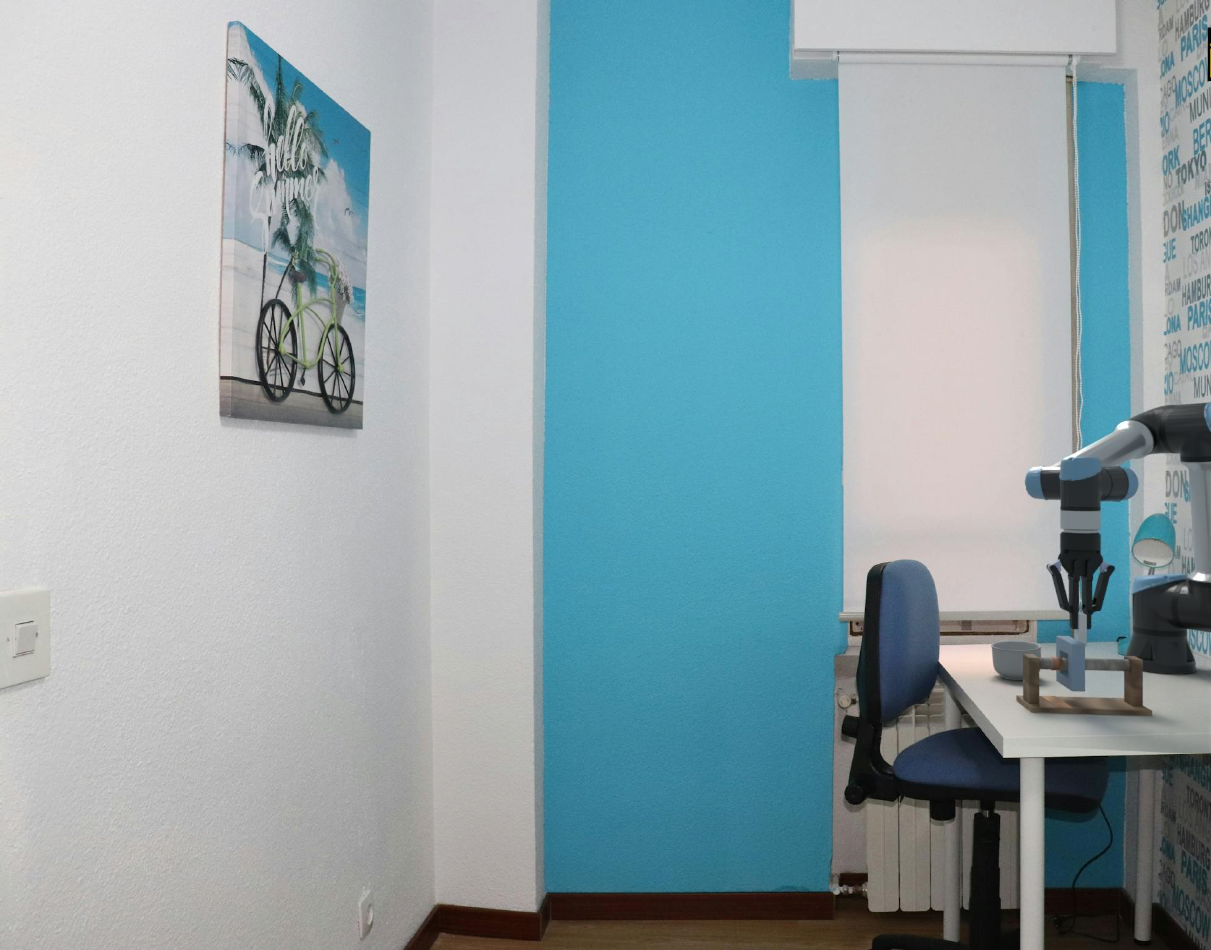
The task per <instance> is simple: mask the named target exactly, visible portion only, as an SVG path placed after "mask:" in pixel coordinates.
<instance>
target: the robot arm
mask: <svg viewBox="0 0 1211 950" xmlns="http://www.w3.org/2000/svg"><path fill="white" fill-rule="evenodd" d="M1113 430H1114V431H1113V432H1111V433H1109V434H1107V435H1105V436H1104V437H1102V438H1100V439H1098V440H1096V441H1094V442H1093V443H1090V444H1089V445H1087V446H1085V447H1083V448H1081V449H1080V450H1078V451H1076V452H1074V453H1072V454H1070V455H1069V456H1066V457H1063V458H1062V459H1061V460H1059V461H1058V462H1056V463H1053V464H1051V465H1040V466H1032V467H1031V468H1029V470H1028V471H1027V473H1026V474H1025V478H1024V486H1025V490H1026V493H1027V494H1028V496H1029V497H1031V498H1032V499H1037V500H1044V501H1049V500H1050V501H1060V507H1059V509H1060V510H1059V511H1060V512H1059V513H1060V515H1059V516H1060V517H1059V523H1060V524H1059V525H1060V529H1061V530H1063V531H1061V533H1059V539H1060V540H1059V549H1060V551H1059V554H1058V555H1057V556H1058V557H1057V560H1056V561H1054V562H1052V563H1048V564H1046V567H1045V568H1046V570H1047V571H1048V572H1049V573H1050V575H1051V577H1052V582H1053V586H1054V589H1055V593H1056V598H1057V601H1058V605H1059V608H1060V609H1061V610H1063V611H1065V612H1068V613H1069V628H1070V629H1072V630H1074V631H1073V635H1074V637H1073V639H1075V640H1077V641H1079V642H1081V643H1083V644H1085V647H1087V646H1088V633H1087V631H1088V630H1091V629H1092V615H1094V614H1095V613H1096V612H1100V611H1102V608H1103V605H1104V601H1105V597H1106V592H1107V589H1108V585H1109V582H1110V577H1111V576H1112V574H1113V573H1114V572H1115V571H1116V567H1115V565H1113V564H1109V563H1107V562H1106V561H1104V557H1103V555H1102V552H1101V550H1102V547H1101V546H1102V534H1101V533H1100V532H1098V531H1101V529H1102V520H1101V518H1102V516H1101V515H1102V514H1101V513H1102V511H1101V509H1102V508H1101V506H1102V505H1101V504H1102V502H1114V503H1115V502H1117V503H1120V502H1122V501H1123V502H1124V501H1128V500H1129V499H1131V498H1133V497H1134V496H1135V495H1136V493H1137V491H1138V489H1139V478H1138V475H1137V474H1136V473H1135V471H1134V470H1133V469H1132V468H1129V467H1127V466H1122V465H1124V464H1126V463H1127V462H1128V463H1129V461H1131V460H1138V459H1143V458H1146V457H1147V456H1149V455H1157V454H1158V455H1160V454H1179V457H1180V458H1179V459H1180V463H1181V464H1182V465H1183V466H1185V467H1186V468H1187V469H1188V481H1189V483H1188V484H1189V495H1190V496H1189V498H1190V513H1191V528H1192V529H1191V530H1192V543H1193V558H1194V559H1193V561H1194V570H1193V571H1192V572H1190V574H1188V575H1187V574H1186V573H1161V574H1148V575H1147V574H1146V575H1139V576H1136V577H1135V578H1134V580H1133V581H1132V590H1131V591H1132V592H1131V596H1132V597H1131V598H1132V599H1131V600H1132V602H1131V603H1132V605H1131V606H1132V607H1131V608H1132V635H1131V638H1130V641H1129V644H1128V646H1127V648H1126V651H1125V654H1124V656H1135V657H1137V658H1139V659H1141V660H1143V672H1150V673H1160V674H1177V675H1179V674H1191V673H1195V672H1196V670H1197V668H1196V666H1197V665H1196V663H1197V662H1196V660H1195V656H1194V654H1193V651H1192V647H1191V645H1190V643H1189V639H1188V630H1191V631H1199V632H1205V633H1211V401H1209V402H1198V403H1185V404H1184V403H1183V404H1182V403H1181V404H1167V405H1166V404H1165V405H1161V406H1158V407H1154V408H1151V409H1148V410H1145V411H1143V412H1141V413H1139V414H1137V415H1134V416H1132V417H1130V418H1128V419H1126V420H1124V421H1122V422H1120V423H1119V424H1117V426H1116V427H1115V429H1113ZM1062 568H1063V569H1064V570H1065V572H1066V573H1067V579H1068V594H1067V591H1066V587H1065V583H1064V579H1063V575H1062V573H1061V571H1062ZM1097 570H1099V571H1100V572H1099V574H1098V577H1097V581H1096V584H1095V588H1094V593H1093V581H1094V574H1095V573H1096V572H1097ZM1080 580H1081V611H1082V612H1080Z"/></svg>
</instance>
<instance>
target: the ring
mask: <svg viewBox="0 0 1211 950" xmlns="http://www.w3.org/2000/svg"><path fill="white" fill-rule="evenodd" d="M1055 639H1056V640H1055V641H1056V642H1055V643H1056V645H1055V649H1056V651H1055V654H1056V655H1055V657H1062V658H1068V670H1055V672H1056V673H1055V677H1056V679H1055V680H1056V681H1055V682H1057V683H1059V684H1060V685H1061V686H1063V687H1065V688H1066V689H1067V690H1069V691H1071V692H1083V693H1084V692H1086V670H1085V658H1086V646H1085V644H1083V643H1081V642H1079V641H1077V640H1075V639H1074V637H1071V636H1069V635H1055Z"/></svg>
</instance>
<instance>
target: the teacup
mask: <svg viewBox="0 0 1211 950" xmlns="http://www.w3.org/2000/svg"><path fill="white" fill-rule="evenodd" d="M990 646H991V655H992V656H991V657H992V664H993V665H992V666H993V668H994V670H995V672H996V673H997V674H999V675H1000V676H1001V678H1003V679H1006V680H1010V681H1023V654H1033V655H1035V656H1037V657H1038V658H1042V646H1041V644H1039V643H1036V642H1032V641H1025V640H1005V639H1001V640H999V641H996V642H993V643H991V645H990ZM1040 672H1041V669H1039V673H1040Z"/></svg>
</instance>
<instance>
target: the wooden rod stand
mask: <svg viewBox="0 0 1211 950" xmlns="http://www.w3.org/2000/svg"><path fill="white" fill-rule="evenodd" d="M1039 669H1040V670H1050V671H1056V670H1068V658H1062V657H1056V656H1050V657H1041V658H1038V657H1037V656H1035V655H1033V654H1023V680H1022V695H1016V697H1015V700H1016V701H1017V702H1018V703H1019V704H1021V706H1023V707H1024V708H1025V709H1026V710H1028V711H1029V712H1030V713H1037V714H1038V713H1040V714H1041V713H1043V714H1044V713H1045V714H1073V715H1074V714H1075V715H1076V714H1077V715H1078V714H1079V715H1080V714H1081V715H1111V716H1112V715H1114V716H1115V715H1119V716H1149V717H1150V716H1151V717H1152V716H1153V710H1151V709H1150V708H1148V707H1146V706H1145V705H1144V671H1143V660H1141V659H1139V658H1137V657H1135V656H1125V655H1124V656H1123V658H1086V657H1085V671H1099V672H1100V671H1105V672H1106V671H1107V672H1123V697H1095V696H1094V697H1091V696H1090V697H1089V696H1088V697H1087V696H1085V697H1084V696H1056V695H1040V672H1039Z"/></svg>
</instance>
